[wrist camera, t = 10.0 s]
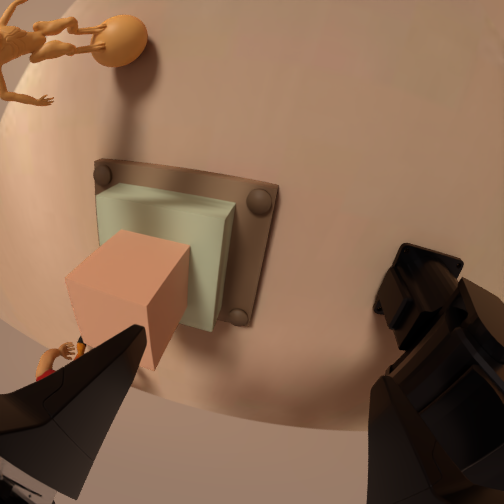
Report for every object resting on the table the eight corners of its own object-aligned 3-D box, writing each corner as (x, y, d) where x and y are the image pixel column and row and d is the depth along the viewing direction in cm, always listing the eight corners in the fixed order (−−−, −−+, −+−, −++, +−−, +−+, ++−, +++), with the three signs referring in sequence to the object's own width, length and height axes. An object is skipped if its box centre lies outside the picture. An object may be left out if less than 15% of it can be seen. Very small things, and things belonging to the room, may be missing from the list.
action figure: (77, 333, 31) (19, 416, 18) (70, 313, 29) (4, 399, 16) (137, 356, 30) (83, 458, 17) (132, 336, 29) (69, 445, 15)
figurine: (157, 91, 16) (15, 97, 6) (92, 105, 17) (-38, 133, 7) (160, -7, 12) (45, -64, 2) (95, 15, 13) (-23, -2, 3)
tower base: (278, 184, 18) (273, 203, 15) (250, 319, 24) (242, 352, 21) (101, 158, 19) (69, 171, 16) (110, 281, 25) (88, 305, 22)
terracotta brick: (190, 245, 17) (146, 306, 12) (187, 307, 19) (154, 371, 14) (121, 229, 17) (64, 277, 12) (126, 289, 20) (83, 342, 14)
